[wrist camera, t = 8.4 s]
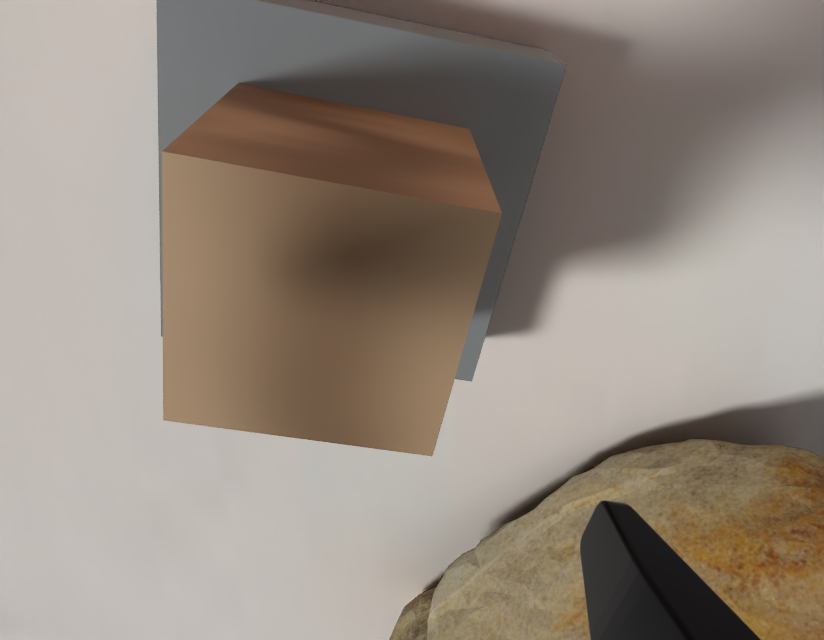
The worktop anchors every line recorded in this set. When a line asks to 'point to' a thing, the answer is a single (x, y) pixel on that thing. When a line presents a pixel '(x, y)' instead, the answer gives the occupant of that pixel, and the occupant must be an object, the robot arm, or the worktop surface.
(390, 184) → the cube
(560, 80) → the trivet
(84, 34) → the worktop surface
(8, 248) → the worktop surface
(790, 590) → the rough brown rock
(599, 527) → the robot arm
